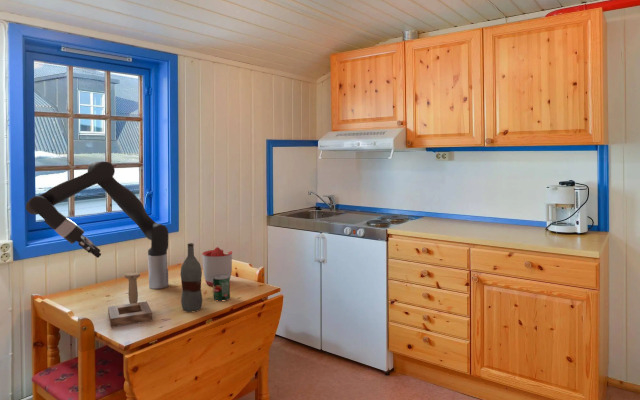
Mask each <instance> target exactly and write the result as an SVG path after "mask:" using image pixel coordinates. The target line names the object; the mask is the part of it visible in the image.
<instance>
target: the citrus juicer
mask: <svg viewBox="0 0 640 400" xmlns="http://www.w3.org/2000/svg"><path fill="white" fill-rule="evenodd" d="M201 255H202V274H203V276H204V280H205V282H206V283H205V284H206V285H208V286H211V287H213V276H215V275H222V274H224V275H229V276H230V278H231V276H232V272H233V268H232V267H233V257H232V256H233V251H229V252H228V254H227V253H224V249H221V248H220V247H218V246H217V247H215V248H214V249H212V250H205V251H203V252H202V254H201Z"/></svg>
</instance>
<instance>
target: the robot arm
mask: <svg viewBox="0 0 640 400" xmlns="http://www.w3.org/2000/svg"><path fill="white" fill-rule="evenodd" d="M114 175H115V167H114V165H113V164H112V163H110V162H109V161H106V160H105V161H104V160H103V161H102V160H100V161H93V162H90V164H89V165H88V166H87V172H85V173H83V174H81V175H79V176H77V177H73V178H70V179H69V180H66V181H63V182H61V183H59V184H57V185H54V186H53V187H51V188H50V189H48V190H46V191H45V192H44V193H42V194H39V195H36V196H35V195H34V196H33V197H31V198H30V199H28V201H27V202H26V204H25V209H26V211H27V212H28V214H30V215H35V216H36V215H39V216H40V217H41V218H42V219H44V222H45V224H46V225H47V226H48V227H50V228H51V229H52V230H53V231H54V232H56V233H57V234H58V235H59V236H60V237H62V238H63V239H65V240H66V241H67V242H69V244H71V245H73V244H74V243H76V242H77V243H78V246H80V247H82V248H83V249H84V250H85V251H86V252H87V253H90V254H92V255H93V256H95V258H97V259H99V257H100V256H101V255H102V253H101V249H100V248H98V247H97V246H96V245H95V244H94V242H93V241H92V240H90V239H89V238H88V237H87V236H86V235H84V234H85V230H84V229H82V228H81V226H79V225H78V224H76V222H74V221H72V220H71V219H70V218H68V217H67V216H66V215H64V214H63V213H62V212H60V211H59V210H58V209H57V208H56V207H55V205H57V204H60V203H62V202H63V201H64V202H65V200H67V199H69V198H71V197H73V196H75V195H76V194H78V193H80V192H83V191H84V190H86V189H89V188H90V187H93V186H94V185H97V186H100V188H101V189H102V190H104V191H105V192H106V193H107V194H108V195H109V197H110V198H111V199H112V200H113V201H114V203H115V204H116V205H117V206H118V207H119V208H120V209H121V210H122V211H123V213H124V214H126V215H127V216H128V217H129V219H131V221H133V222H134V223H135V224H136V226H137V227H138V228H139V229H140V230H141V232H142V233H143V235H144V236H145V237H146V238H147V239H148V240H150V241H151V244H150V245H151V246H150V248H148V249H147V263H148V264H147V265H148V287H149V289H155V290H157V289H164V288H167V287H169V268H168V254H167V252H168V249H169V230H168V227H166V225H163V224H161V223H157V222H156V221H154V220H153V219H152V218H151V217H150V215H148V213H147V211H146V209H145V207H144V204H143V203H142V201H141V200H140V199H139V198H138V197H137V196H136V194H135V193H134V192H132V191H131V190H130V189H128V187H126V186H124V185H122V184H121V182H118V181H117V180H116V179H115V177H114Z"/></svg>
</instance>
